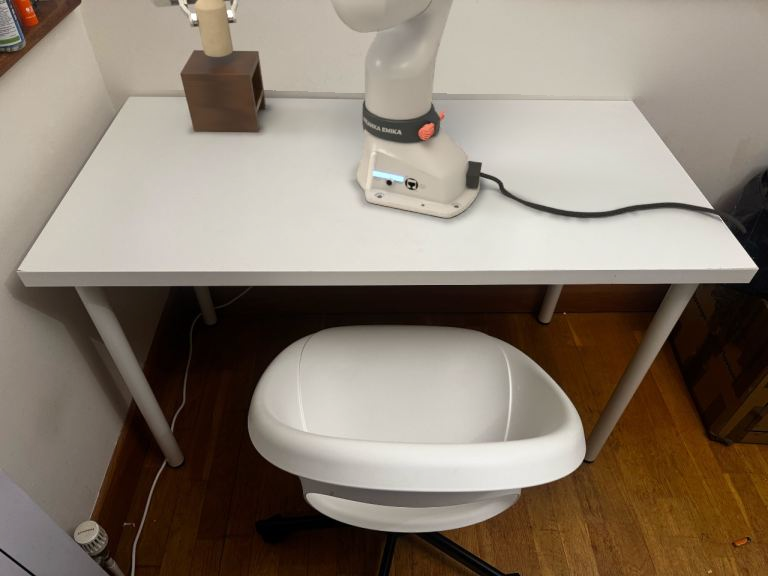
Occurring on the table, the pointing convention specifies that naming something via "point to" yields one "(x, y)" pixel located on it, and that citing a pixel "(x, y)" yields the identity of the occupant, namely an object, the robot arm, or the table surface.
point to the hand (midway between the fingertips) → (213, 23)
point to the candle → (214, 27)
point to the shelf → (224, 91)
